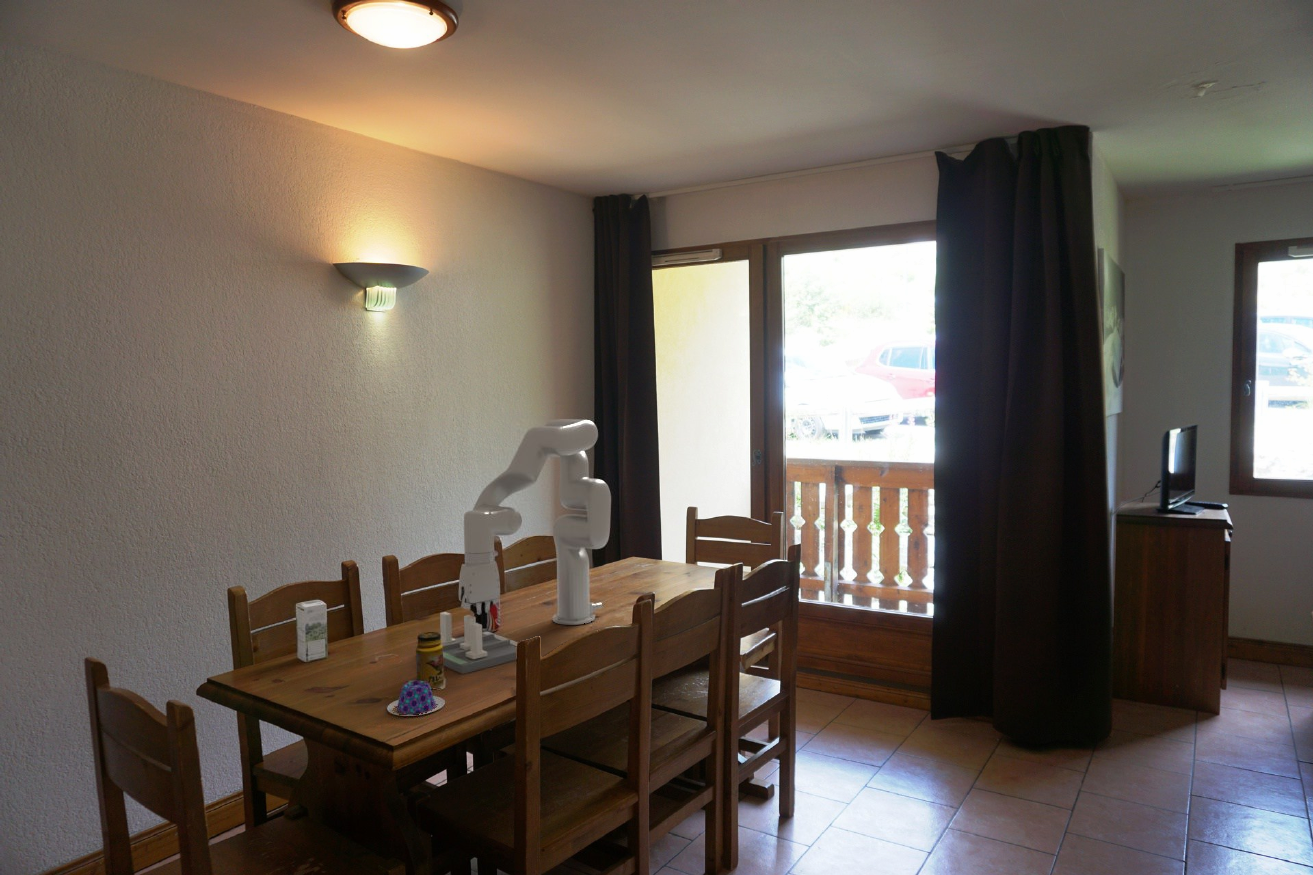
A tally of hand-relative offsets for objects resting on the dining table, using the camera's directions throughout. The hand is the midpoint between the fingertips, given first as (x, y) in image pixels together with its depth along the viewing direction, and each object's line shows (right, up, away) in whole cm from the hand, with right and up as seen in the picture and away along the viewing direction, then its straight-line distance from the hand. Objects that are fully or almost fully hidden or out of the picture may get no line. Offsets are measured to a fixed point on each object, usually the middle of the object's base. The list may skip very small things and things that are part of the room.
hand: (481, 627), depth 218 cm
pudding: (-6, -9, -37) cm, 39 cm away
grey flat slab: (-1, -7, -1) cm, 7 cm away
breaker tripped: (-2, -5, -2) cm, 6 cm away
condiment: (-8, -8, -23) cm, 26 cm away
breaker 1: (-9, -5, +2) cm, 11 cm away
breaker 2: (+1, -5, -9) cm, 10 cm away
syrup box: (-43, -8, -2) cm, 44 cm away
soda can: (-3, -6, +22) cm, 23 cm away
